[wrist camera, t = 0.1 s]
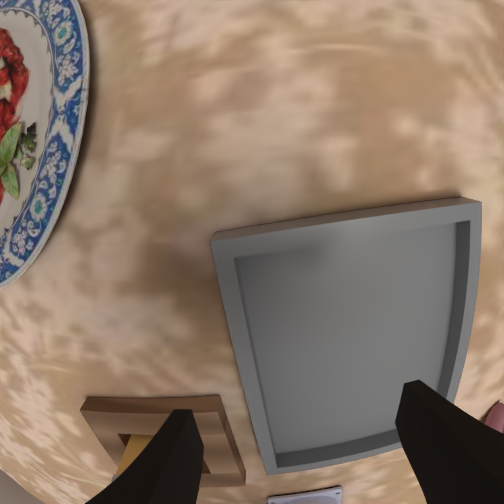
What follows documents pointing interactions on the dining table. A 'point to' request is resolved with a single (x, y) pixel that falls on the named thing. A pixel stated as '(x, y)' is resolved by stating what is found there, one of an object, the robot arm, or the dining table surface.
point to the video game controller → (496, 417)
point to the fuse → (132, 451)
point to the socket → (152, 418)
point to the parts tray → (347, 322)
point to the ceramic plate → (38, 121)
